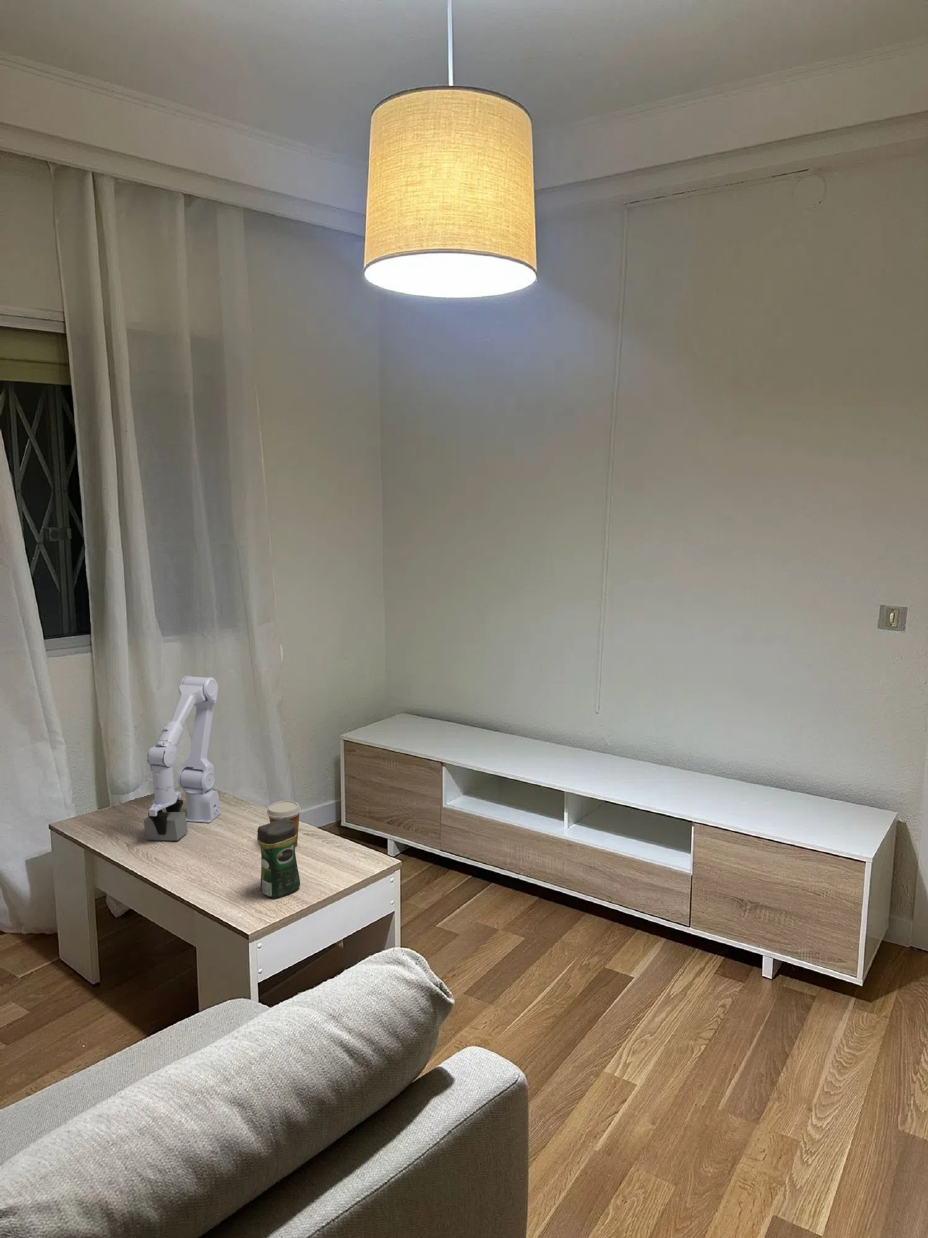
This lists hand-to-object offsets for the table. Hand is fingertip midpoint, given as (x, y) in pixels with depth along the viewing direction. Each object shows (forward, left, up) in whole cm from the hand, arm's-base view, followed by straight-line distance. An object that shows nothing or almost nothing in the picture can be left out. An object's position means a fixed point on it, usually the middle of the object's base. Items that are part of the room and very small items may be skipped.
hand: (167, 829), depth 262 cm
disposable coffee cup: (-37, 0, -2) cm, 37 cm away
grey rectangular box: (0, 0, -2) cm, 2 cm away
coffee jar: (-46, +25, -3) cm, 52 cm away
